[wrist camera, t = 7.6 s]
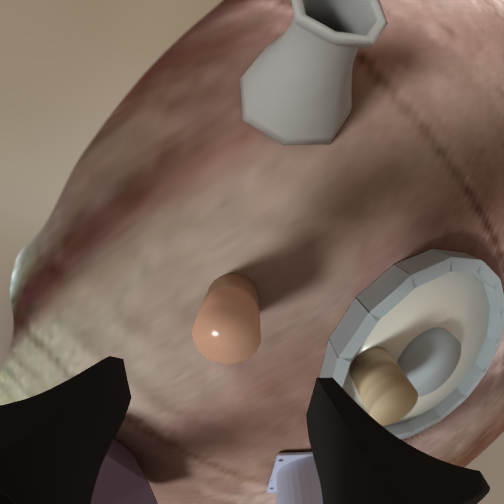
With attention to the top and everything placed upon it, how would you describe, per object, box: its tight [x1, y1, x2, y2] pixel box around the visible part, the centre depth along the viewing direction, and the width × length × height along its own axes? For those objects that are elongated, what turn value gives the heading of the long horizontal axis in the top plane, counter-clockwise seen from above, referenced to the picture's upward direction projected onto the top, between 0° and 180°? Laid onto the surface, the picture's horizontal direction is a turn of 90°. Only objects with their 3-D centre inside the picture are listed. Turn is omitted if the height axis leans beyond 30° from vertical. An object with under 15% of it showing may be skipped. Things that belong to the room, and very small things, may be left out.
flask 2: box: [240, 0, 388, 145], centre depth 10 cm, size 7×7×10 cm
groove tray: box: [320, 249, 504, 439], centre depth 18 cm, size 18×18×2 cm
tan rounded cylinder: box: [349, 347, 418, 426], centre depth 16 cm, size 3×3×5 cm
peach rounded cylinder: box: [192, 274, 261, 364], centre depth 16 cm, size 3×3×5 cm
